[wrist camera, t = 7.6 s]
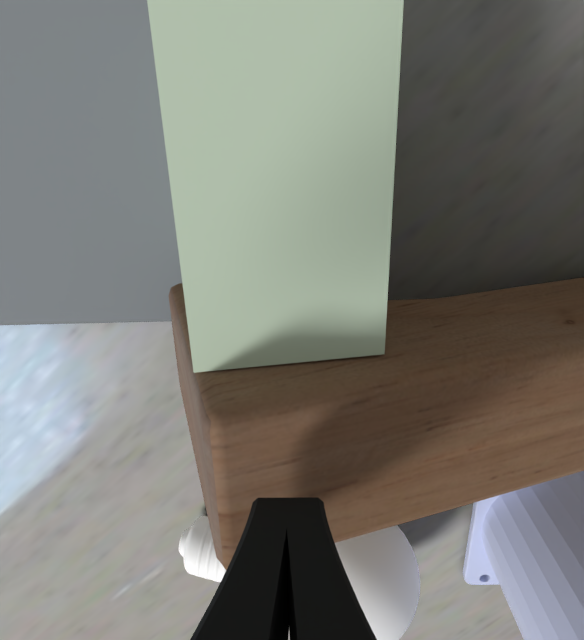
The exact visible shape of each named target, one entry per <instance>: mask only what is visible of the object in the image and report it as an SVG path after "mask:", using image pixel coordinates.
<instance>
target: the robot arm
mask: <svg viewBox="0 0 584 640" xmlns="http://www.w3.org/2000/svg"><path fill="white" fill-rule="evenodd" d="M463 576H464V579H465V581H466V582H467V583H469V584H472V585H488V584H500V586H501V588H502V591H503V593H504V595H505V598H506V600H507V602H508V604H509V607H510V609H511V611H512V614H513V616H514V618H515V620H516V623H517V625H518V627H519V630H520V632H521V634H522V636H523V639H524V640H584V471H581V472H578V473H574V474H571V475H567V476H564V477H560V478H557V479H553V480H550V481H546V482H543V483H540V484H536V485H533V486H529V487H526V488H522V489H519V490H516V491H512V492H509V493H505V494H502V495H498V496H495V497H491V498H488V499H485V500H481V501H478V502H474V504H473V511H472V517H471V523H470V530H469V536H468V542H467V549H466V555H465V561H464V567H463ZM289 629H290V640H377V639H376V637H375V635H374V633H373V631H372V629H371V627H370V625H369V623H368V621H367V619H366V617H365V614H364V612H363V610H362V608H361V606H360V604H359V602H358V599H357V597H356V595H355V592H354V590H353V588H352V585H351V583H350V581H349V579H348V576H347V574H346V572H345V569H344V567H343V564H342V562H341V559H340V557H339V554H338V551H337V548H336V545H335V543H334V540H333V537H332V534H331V531H330V528H329V524H328V521H327V517H326V513H325V508H324V502H323V501H322V500H321V499H319V498H318V497H297V498H257V499H256V500H255V501H254V502H253V503H252V507H251V511H250V514H249V517H248V520H247V523H246V526H245V528H244V531H243V534H242V536H241V539H240V541H239V543H238V546H237V548H236V550H235V553H234V555H233V557H232V560H231V562H230V564H229V566H228V568H227V570H226V572H225V574H224V576H223V579H222V581H221V583H220V585H219V587H218V589H217V591H216V593H215V595H214V597H213V599H212V601H211V603H210V605H209V607H208V608H207V610H206V612H205V614H204V616H203V618H202V619H201V621H200V623H199V625H198V627H197V629H196V630H195V632H194V634H193V636H192V638H191V640H288V632H289Z"/></svg>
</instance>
